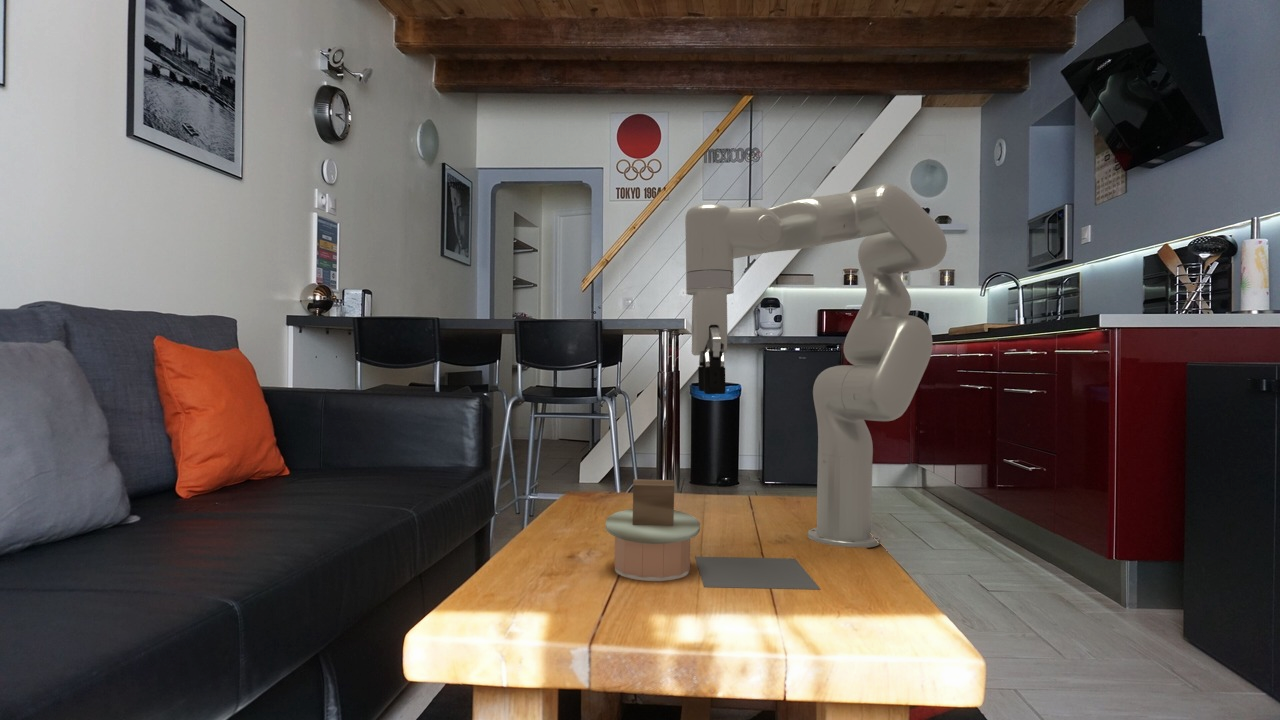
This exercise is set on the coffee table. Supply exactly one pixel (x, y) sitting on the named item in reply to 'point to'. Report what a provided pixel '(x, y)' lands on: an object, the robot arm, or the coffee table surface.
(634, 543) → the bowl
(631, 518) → the lid
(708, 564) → the mat
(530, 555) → the coffee table surface
